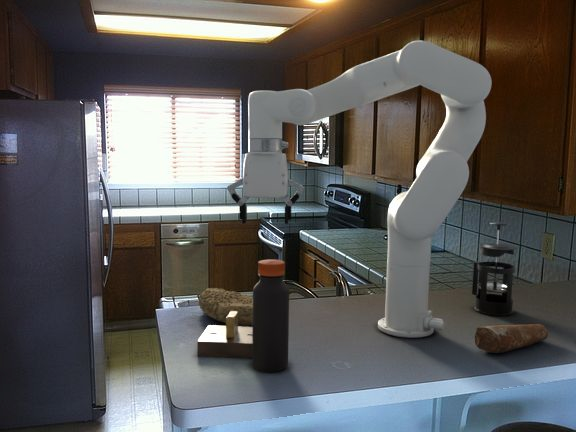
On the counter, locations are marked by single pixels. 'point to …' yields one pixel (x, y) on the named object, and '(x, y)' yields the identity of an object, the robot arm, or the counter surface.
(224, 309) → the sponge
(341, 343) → the counter surface
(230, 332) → the thumbturn
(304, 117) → the robot arm
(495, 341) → the bread
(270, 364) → the bottle
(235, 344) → the lock plate
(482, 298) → the french press
